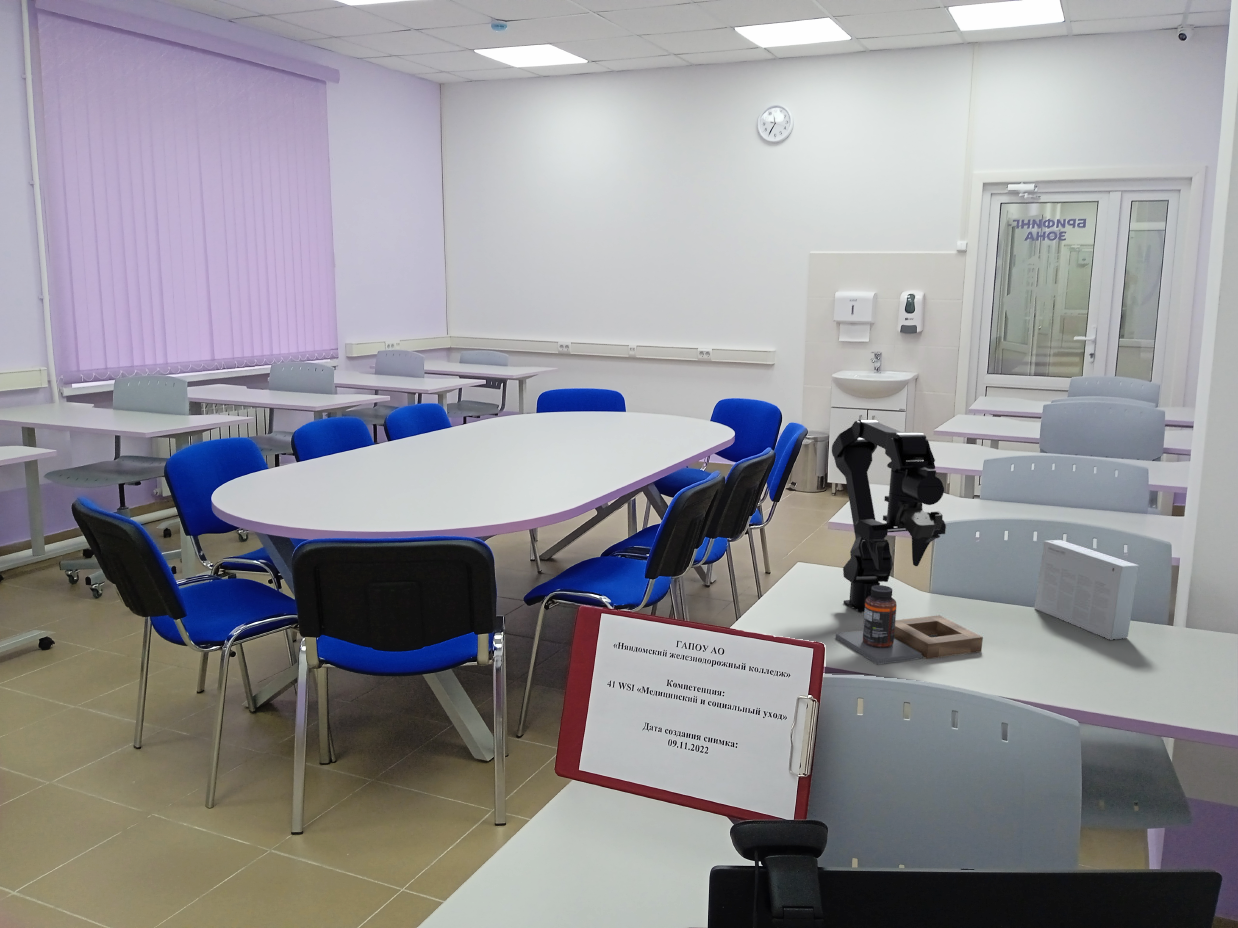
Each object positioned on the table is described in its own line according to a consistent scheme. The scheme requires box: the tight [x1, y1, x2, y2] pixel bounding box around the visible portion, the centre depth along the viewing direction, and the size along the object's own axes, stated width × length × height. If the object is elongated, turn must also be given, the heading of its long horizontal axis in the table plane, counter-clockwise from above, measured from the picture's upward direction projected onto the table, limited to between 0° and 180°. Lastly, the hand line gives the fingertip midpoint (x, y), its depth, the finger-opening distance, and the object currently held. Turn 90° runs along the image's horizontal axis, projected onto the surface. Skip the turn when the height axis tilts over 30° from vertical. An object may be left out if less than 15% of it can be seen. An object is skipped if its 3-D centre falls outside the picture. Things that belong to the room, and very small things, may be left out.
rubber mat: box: [835, 629, 922, 665], centre depth 192 cm, size 14×10×1 cm
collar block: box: [894, 614, 984, 660], centre depth 196 cm, size 13×13×3 cm
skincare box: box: [1034, 539, 1140, 641], centre depth 209 cm, size 21×5×16 cm, turn 22°
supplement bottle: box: [862, 584, 897, 648], centre depth 191 cm, size 6×6×11 cm
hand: (897, 567), depth 202 cm, fingers open, 9 cm apart
